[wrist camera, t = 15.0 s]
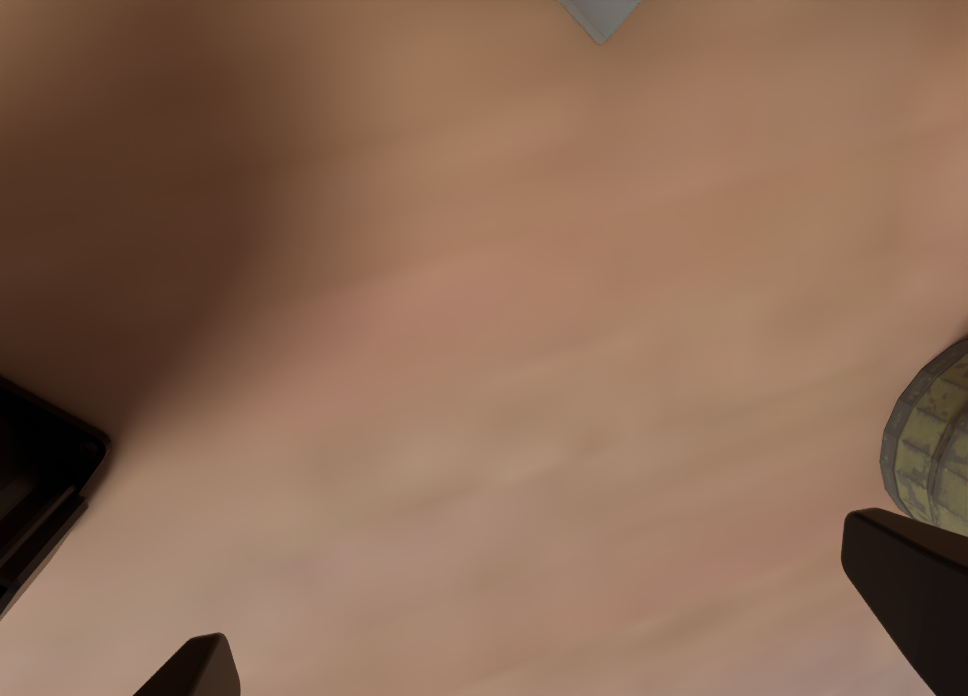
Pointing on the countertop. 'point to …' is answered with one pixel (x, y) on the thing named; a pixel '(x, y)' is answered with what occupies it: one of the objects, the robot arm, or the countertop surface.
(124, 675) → the countertop surface
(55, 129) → the countertop surface
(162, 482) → the countertop surface
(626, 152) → the countertop surface
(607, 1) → the slotted post block
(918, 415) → the olive cylinder
